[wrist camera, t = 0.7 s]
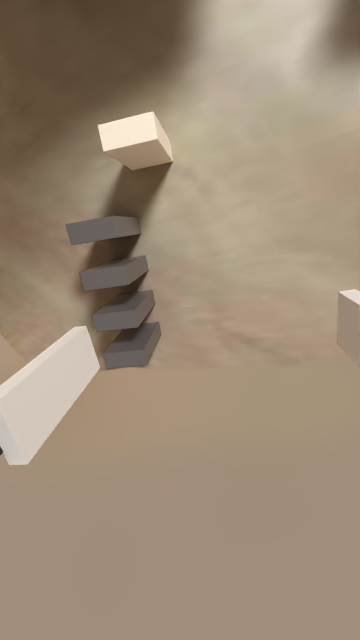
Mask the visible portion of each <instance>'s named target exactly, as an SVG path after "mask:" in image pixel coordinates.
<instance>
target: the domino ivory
mask: <svg viewBox="0 0 360 640" xmlns="http://www.w3.org/2000/svg"><path fill="white" fill-rule="evenodd" d="M98 129H99V133H100V138H101V142H102V147H103V151H104V152H105V153H107V154H108V155H110V156H111V157H113V158H114V159H116V160H117V161H119V162H120V163H122V164H124V165H125V166H127V167H128V168H130V169H131V170H137V169H141V168H146V167H151V166H155V165H160V164H164V163H169V162H173V159H172V152H171V146H170V141H169V139H168V138H167V136H166V134H165V132H164V130H163V128H162V126H161V125H160V123H159V121H158V119H157V117H156V115H155V114H154V112H153V111H152V112H148V113H144V114H140V115H136V116H132V117H128V118H124V119H120V120H116V121H112V122H108V123H104V124H100V125H98Z"/></svg>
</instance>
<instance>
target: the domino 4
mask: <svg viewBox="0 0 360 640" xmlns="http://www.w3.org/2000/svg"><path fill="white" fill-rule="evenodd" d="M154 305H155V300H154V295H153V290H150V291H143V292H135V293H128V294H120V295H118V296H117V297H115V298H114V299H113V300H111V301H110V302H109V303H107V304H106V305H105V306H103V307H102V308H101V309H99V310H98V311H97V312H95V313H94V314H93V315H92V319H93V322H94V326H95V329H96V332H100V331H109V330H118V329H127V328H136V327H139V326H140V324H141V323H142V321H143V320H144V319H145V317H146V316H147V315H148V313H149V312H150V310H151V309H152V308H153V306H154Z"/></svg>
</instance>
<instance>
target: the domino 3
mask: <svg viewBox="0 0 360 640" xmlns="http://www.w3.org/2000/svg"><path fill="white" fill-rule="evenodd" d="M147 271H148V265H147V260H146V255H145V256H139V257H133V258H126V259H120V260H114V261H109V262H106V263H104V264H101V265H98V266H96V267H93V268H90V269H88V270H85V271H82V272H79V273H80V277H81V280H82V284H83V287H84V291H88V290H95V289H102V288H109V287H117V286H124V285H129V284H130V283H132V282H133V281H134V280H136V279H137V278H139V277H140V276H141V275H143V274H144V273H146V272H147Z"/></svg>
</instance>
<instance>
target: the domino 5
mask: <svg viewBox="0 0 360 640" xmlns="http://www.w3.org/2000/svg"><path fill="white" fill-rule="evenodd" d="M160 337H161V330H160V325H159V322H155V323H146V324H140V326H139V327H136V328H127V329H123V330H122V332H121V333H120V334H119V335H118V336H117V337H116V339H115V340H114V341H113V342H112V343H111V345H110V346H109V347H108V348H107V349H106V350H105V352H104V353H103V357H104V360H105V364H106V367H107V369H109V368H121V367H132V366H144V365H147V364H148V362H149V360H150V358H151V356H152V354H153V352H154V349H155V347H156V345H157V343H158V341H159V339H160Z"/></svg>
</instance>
